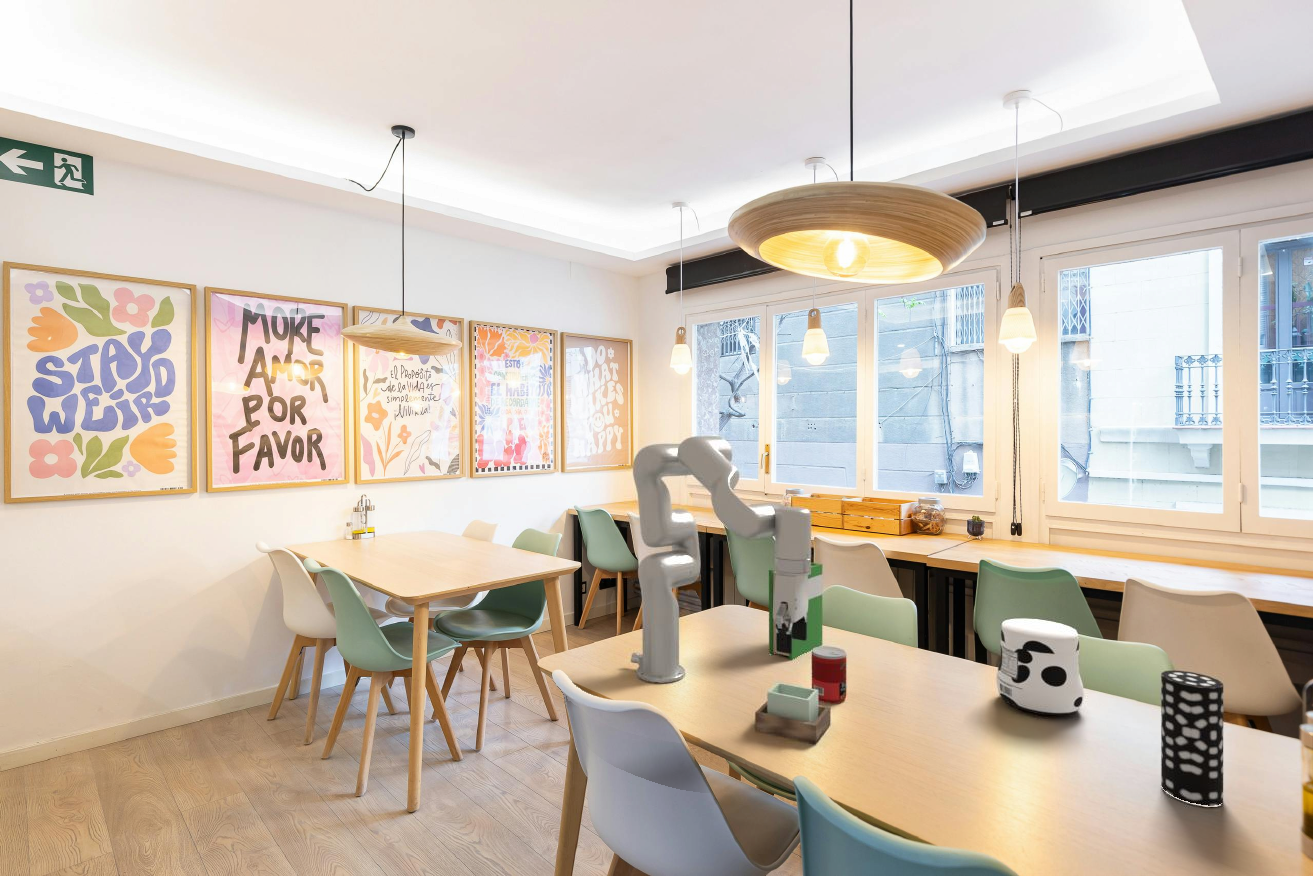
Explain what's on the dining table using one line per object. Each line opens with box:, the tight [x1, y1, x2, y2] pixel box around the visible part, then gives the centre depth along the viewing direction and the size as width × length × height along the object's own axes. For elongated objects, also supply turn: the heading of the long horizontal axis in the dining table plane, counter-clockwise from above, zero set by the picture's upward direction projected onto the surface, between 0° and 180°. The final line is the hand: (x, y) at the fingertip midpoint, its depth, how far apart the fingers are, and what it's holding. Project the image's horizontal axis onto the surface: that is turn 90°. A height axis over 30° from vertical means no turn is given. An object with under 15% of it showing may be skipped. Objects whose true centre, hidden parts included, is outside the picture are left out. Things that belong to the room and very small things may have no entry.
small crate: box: [766, 681, 819, 723], centre depth 141 cm, size 9×6×7 cm
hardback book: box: [768, 562, 823, 661], centre depth 192 cm, size 18×7×24 cm, turn 139°
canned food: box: [811, 645, 847, 704], centre depth 157 cm, size 8×8×11 cm
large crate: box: [754, 701, 832, 746], centre depth 141 cm, size 13×10×4 cm
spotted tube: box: [1160, 669, 1224, 806], centre depth 114 cm, size 8×8×20 cm
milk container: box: [995, 618, 1085, 716], centre depth 152 cm, size 17×17×18 cm
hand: (791, 645), depth 141 cm, fingers open, 9 cm apart
